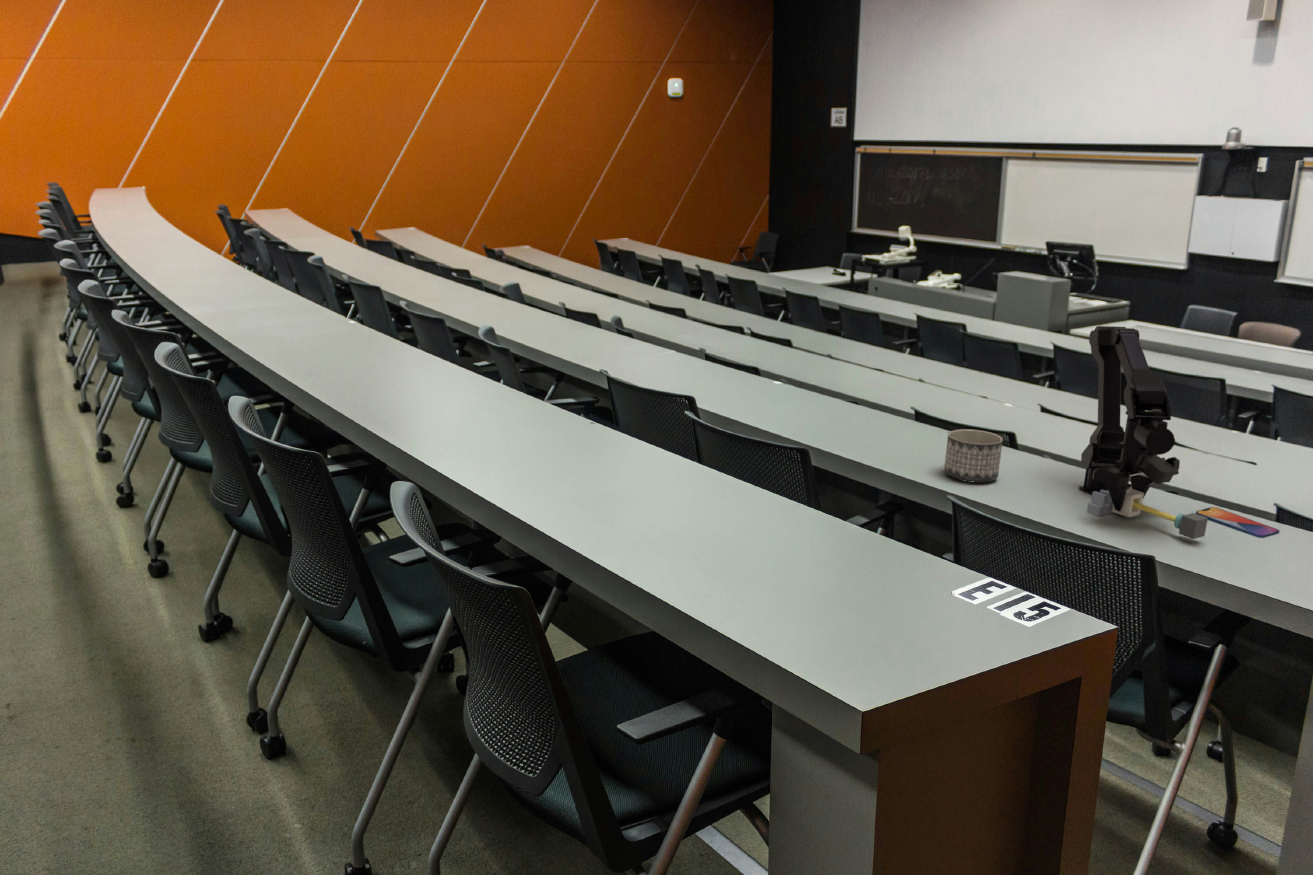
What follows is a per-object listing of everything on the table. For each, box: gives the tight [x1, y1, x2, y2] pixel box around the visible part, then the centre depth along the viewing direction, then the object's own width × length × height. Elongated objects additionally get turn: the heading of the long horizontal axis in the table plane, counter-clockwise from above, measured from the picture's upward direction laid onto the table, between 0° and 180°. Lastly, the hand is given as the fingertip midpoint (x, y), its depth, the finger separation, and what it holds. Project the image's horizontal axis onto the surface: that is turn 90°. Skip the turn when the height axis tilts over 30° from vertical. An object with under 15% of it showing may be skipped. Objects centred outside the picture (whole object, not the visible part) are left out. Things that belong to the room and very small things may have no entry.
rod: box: [1133, 502, 1177, 523], centre depth 205 cm, size 20×1×1 cm, turn 28°
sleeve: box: [1112, 488, 1145, 518], centre depth 209 cm, size 4×4×5 cm
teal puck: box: [1173, 513, 1185, 530], centre depth 198 cm, size 1×3×3 cm, turn 118°
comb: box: [1086, 489, 1115, 517], centre depth 213 cm, size 3×10×5 cm, turn 118°
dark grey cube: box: [1178, 512, 1209, 540], centre depth 196 cm, size 4×4×4 cm
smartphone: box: [1195, 506, 1280, 539], centre depth 207 cm, size 7×15×1 cm, turn 28°
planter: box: [943, 428, 1004, 483], centre depth 233 cm, size 13×13×10 cm
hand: (1126, 508), depth 209 cm, fingers open, 6 cm apart
